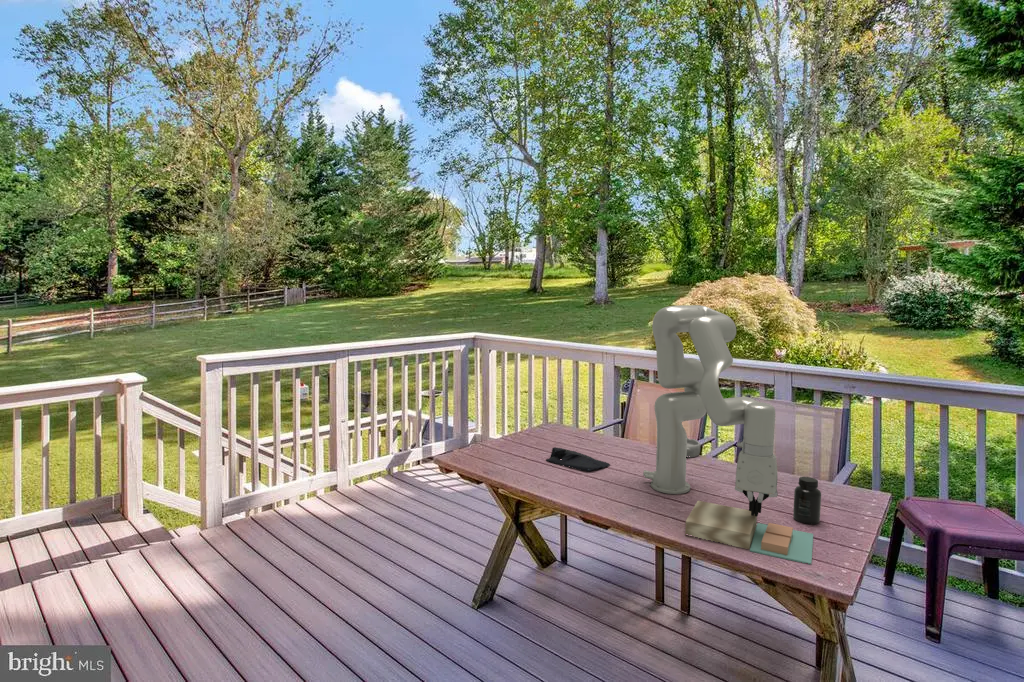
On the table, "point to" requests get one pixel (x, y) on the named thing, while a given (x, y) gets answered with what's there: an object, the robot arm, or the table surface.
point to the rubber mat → (797, 550)
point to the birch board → (721, 524)
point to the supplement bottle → (807, 501)
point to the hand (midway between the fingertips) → (754, 514)
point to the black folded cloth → (575, 460)
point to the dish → (693, 447)
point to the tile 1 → (780, 530)
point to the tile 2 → (775, 543)
